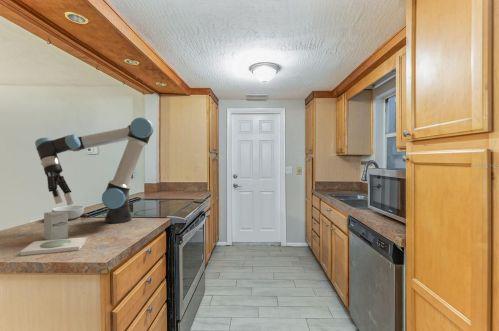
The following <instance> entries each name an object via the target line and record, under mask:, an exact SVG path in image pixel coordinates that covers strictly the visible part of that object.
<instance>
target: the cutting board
mask: <svg viewBox="0 0 499 331" xmlns="http://www.w3.org/2000/svg"><path fill="white" fill-rule="evenodd" d="M86 241H87V236H85V237H72V238H64V239H58V240H46V239H45V240H35V241H33V242H31V243H30V244H28V245H27V246H26V247H24V248H23V249H21V251H19V256H30V255H41V254H42V255H43V254H51V253H62V252H72V251H79V250H80V249H82V247H83V245H84V244H85V243H86Z"/></svg>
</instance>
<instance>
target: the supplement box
mask: <svg viewBox="0 0 499 331" xmlns="http://www.w3.org/2000/svg"><path fill="white" fill-rule="evenodd" d="M68 237H69V220H68V212H65V211H55V212H52V211H48V212H44V213H43V239H44V240H45V241H46V240H58V239H69V238H68Z"/></svg>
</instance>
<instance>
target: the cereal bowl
mask: <svg viewBox="0 0 499 331" xmlns="http://www.w3.org/2000/svg"><path fill="white" fill-rule="evenodd" d="M84 210H85V207H84V206H83V205H65V206H64V205H63V206H57V207H53V208H51V212H55V211H65V212H68V221H71V220H75V219H76V218H78V217H80V216H81V215H83V213H84Z"/></svg>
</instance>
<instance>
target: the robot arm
mask: <svg viewBox="0 0 499 331" xmlns="http://www.w3.org/2000/svg"><path fill="white" fill-rule="evenodd" d="M153 126H154V125H153V123H152V122H151V121H150V120H149V119H148V118H145V117H143V116H142V117H136V118H134V119H133V120H132V121H131V123H130V124H128V125H127V126H126V127H124V128H123V127H122V128H118V129H112V130H108V131H102V132H97V133H93V134H87V135H82V136H78V135H76V134H75V133H72V134H68V135H64V136H63V137H59V138H55V139H52V138H50V137H41V138H40V137H39V138H38V139H36V140H35V141H34V145H35V149H36V152H37V155H38V157H39V160H40V162H41V163H40V165H41V166H42V167H43V170H44V171H43V172H44V174H45V176H46V178H47V180H46V181H47V189H48V192H51V193H52V196H53V199H54V203H55V205H58V204H60V203H63V199H62V197H61V193H60V191H59V189H58V187H59V188H60V190H61V191H62V193H63V196H64V199H65V201H66V206H72V205H73V204H74V200H73V199H72V195H71V193H72V190H71V189H70V187H69V185H68V183H67V182H66V179H65V178H64V175H61V173H62V172H63V167H62V165H61V162H60V158H59V156H58V154H61V153H65V152H67V151H69V152H79V151H83V150H86V149H90V148H95V147H100V146H104V145H110V144H114V143H119V142H125V141H127V144H126V146H125V148H124V151H123V154H122V156H121V158H120V161H119V164H118V166H117V168H116V172H115V174H114V176H113V179H111V180H109V181H108V183H107V186H106V188H105V190H104V192H103V193H102V195H101V201H102V204H103V205H104V207H106V208H107V211H106V213H105V216H104V223H107V224H120V223H126V222H130V221H132V220H133V219H132V218H133V215H132V213H131V210H130V205H129V204H130V195H129V194H130V189H131V186H130V182H131V179H132V176H133V175H134V171H135V169H136V166H137V164H138V161H139V159H140V156H141V154H142V151H143V148H144V146H146V145H148V144H149V141H150V138H151V137H152V135H153V133H154V127H153Z"/></svg>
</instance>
